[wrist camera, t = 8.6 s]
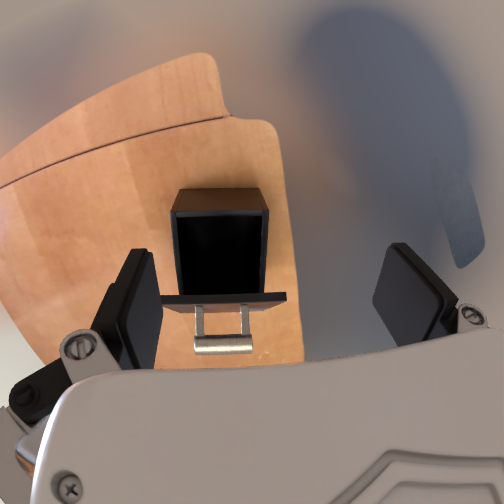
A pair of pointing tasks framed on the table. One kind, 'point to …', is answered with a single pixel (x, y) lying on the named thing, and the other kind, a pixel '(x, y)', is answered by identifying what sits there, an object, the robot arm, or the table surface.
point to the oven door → (217, 305)
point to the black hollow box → (220, 240)
